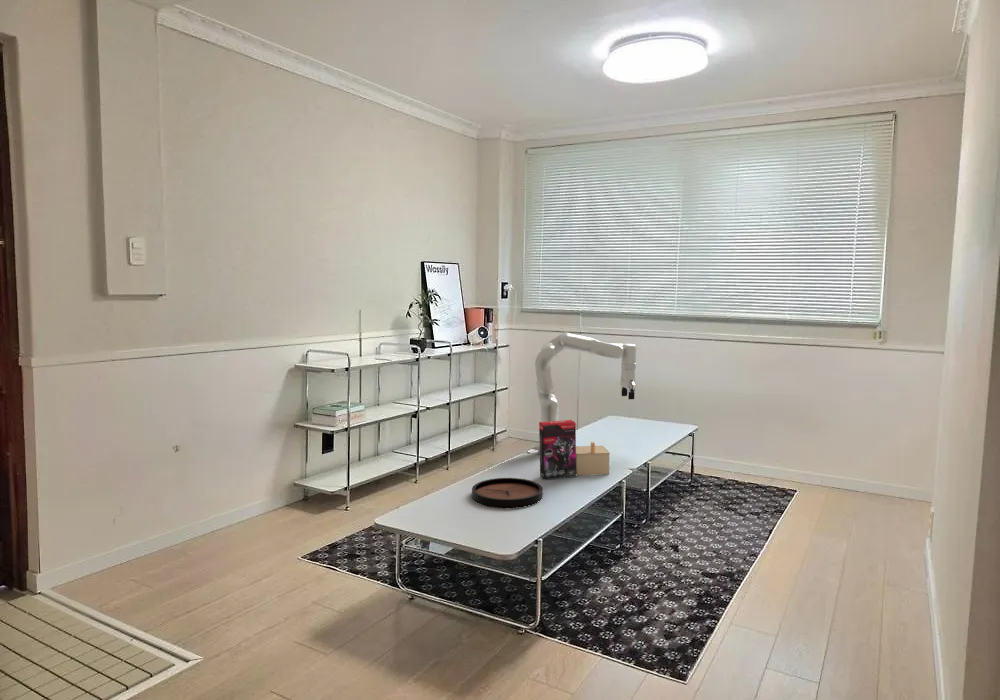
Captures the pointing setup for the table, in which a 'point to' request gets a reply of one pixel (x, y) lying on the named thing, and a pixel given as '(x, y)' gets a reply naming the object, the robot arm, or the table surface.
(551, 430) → the graphics card box
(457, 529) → the table surface
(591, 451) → the flap
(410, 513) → the table surface
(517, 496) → the wall clock
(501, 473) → the table surface
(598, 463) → the carton
